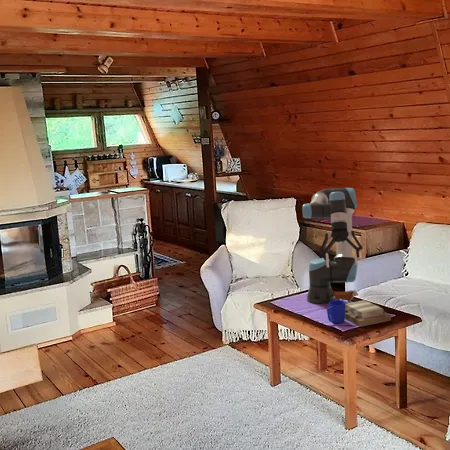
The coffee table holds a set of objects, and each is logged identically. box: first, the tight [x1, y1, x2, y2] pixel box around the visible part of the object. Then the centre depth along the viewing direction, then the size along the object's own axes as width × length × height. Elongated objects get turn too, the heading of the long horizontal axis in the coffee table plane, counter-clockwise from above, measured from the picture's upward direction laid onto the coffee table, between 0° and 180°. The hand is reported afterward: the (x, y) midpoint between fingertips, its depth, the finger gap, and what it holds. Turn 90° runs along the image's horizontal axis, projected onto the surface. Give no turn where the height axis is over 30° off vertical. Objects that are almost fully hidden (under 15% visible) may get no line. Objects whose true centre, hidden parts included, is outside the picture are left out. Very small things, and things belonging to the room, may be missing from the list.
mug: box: [326, 299, 347, 324], centre depth 282 cm, size 8×12×10 cm
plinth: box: [345, 299, 392, 328], centre depth 287 cm, size 20×18×6 cm
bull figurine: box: [333, 289, 359, 304], centre depth 309 cm, size 4×13×8 cm, turn 78°
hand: (342, 265), depth 268 cm, fingers open, 13 cm apart
